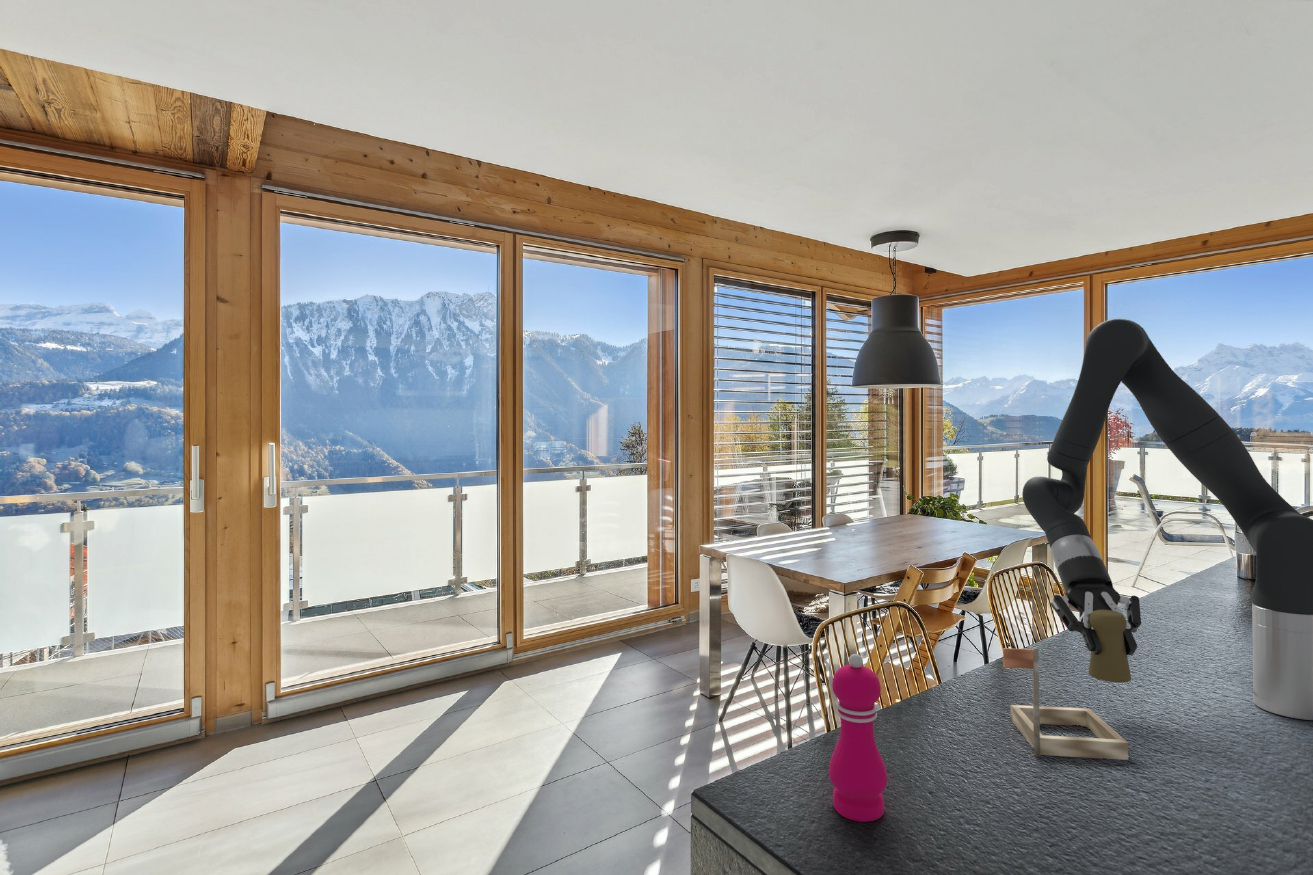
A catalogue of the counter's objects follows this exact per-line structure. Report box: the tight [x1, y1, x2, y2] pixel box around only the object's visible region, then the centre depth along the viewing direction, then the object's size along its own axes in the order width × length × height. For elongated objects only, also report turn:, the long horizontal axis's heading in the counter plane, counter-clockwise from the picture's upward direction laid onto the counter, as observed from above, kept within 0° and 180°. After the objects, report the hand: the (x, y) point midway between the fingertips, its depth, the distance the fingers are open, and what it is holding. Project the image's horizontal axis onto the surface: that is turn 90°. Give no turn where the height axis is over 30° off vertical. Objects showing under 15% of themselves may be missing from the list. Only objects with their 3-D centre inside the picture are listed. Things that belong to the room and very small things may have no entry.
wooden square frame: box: [1002, 646, 1129, 761], centre depth 104 cm, size 17×13×16 cm
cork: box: [1087, 610, 1132, 684], centre depth 113 cm, size 6×6×11 cm
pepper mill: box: [828, 653, 888, 823], centre depth 86 cm, size 7×7×20 cm
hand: (1114, 652), depth 111 cm, fingers closed on cork, 4 cm apart
